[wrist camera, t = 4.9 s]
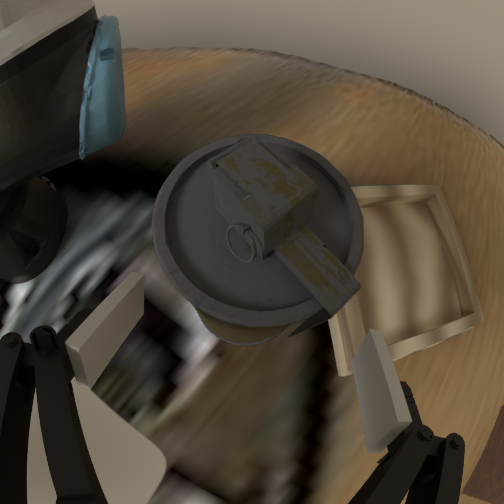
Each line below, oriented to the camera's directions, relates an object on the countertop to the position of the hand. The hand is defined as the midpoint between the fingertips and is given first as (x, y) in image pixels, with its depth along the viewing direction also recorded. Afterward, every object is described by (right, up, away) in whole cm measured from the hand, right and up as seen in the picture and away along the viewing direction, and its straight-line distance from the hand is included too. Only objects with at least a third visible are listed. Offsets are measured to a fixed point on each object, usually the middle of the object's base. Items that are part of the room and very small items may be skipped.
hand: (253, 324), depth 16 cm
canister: (-1, -1, +14) cm, 14 cm away
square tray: (+17, +2, +16) cm, 24 cm away
